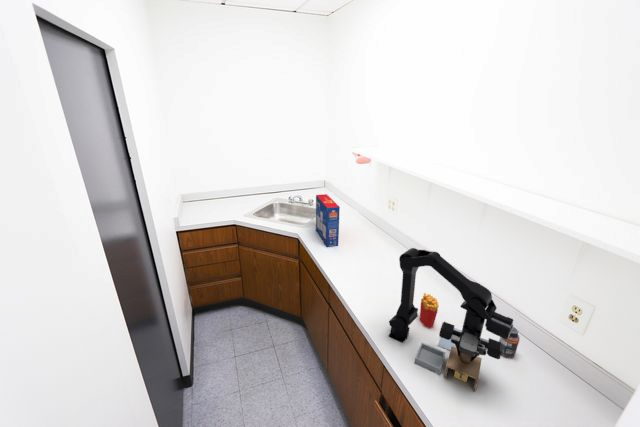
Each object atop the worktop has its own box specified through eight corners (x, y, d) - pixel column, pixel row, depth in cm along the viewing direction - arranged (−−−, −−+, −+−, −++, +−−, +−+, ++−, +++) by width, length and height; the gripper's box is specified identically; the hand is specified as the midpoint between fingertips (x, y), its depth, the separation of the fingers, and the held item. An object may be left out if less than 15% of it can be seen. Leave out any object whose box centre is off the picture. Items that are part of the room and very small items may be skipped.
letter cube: (453, 377, 104) (455, 368, 103) (455, 368, 107) (457, 360, 106) (466, 382, 102) (468, 374, 101) (467, 373, 105) (469, 365, 104)
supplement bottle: (508, 346, 117) (515, 323, 113) (518, 358, 112) (525, 335, 108) (493, 346, 117) (499, 323, 113) (502, 358, 111) (509, 335, 107)
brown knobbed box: (443, 377, 104) (448, 356, 100) (449, 358, 112) (453, 337, 108) (474, 391, 99) (481, 369, 95) (478, 370, 107) (484, 349, 103)
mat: (437, 345, 117) (437, 345, 117) (444, 324, 128) (444, 324, 128) (476, 361, 110) (476, 360, 110) (480, 337, 121) (480, 337, 121)
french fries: (416, 316, 133) (420, 292, 128) (424, 315, 134) (428, 291, 129) (428, 330, 125) (433, 305, 120) (437, 329, 126) (442, 304, 121)
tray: (414, 363, 109) (415, 358, 108) (420, 347, 116) (421, 342, 115) (439, 374, 105) (440, 369, 104) (444, 357, 112) (445, 352, 111)
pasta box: (338, 246, 197) (339, 206, 187) (326, 247, 195) (327, 207, 185) (326, 229, 222) (326, 194, 212) (315, 230, 220) (316, 194, 210)
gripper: (439, 326, 96) (432, 361, 102) (505, 350, 87) (493, 388, 92) (446, 307, 105) (439, 341, 111) (506, 328, 96) (495, 363, 101)
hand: (465, 357), depth 103 cm, fingers closed on brown knobbed box, 4 cm apart
